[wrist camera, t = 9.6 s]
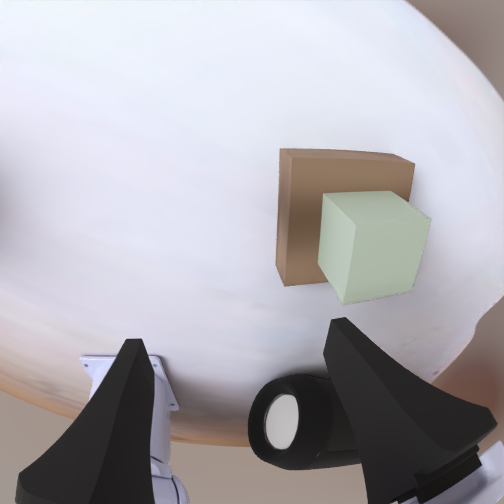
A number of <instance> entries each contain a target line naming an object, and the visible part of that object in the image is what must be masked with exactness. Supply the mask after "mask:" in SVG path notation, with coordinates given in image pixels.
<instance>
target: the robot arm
mask: <svg viewBox="0 0 504 504" xmlns="http://www.w3.org/2000/svg"><path fill="white" fill-rule="evenodd" d="M323 355H324V358H325V362H326V366H327V369H328V372H329V375H330V378H331V380H332V382H333V385H334V387H335V389H336V391H337V394H338V396H339V398H340V400H341V403H342V405H343V407H344V409H345V412H346V414H347V416H348V419H349V421H350V424H351V427H352V430H353V433H354V437H355V440H356V444H357V447H358V451H359V455H360V459H361V464H362V468H363V473H364V478H365V484H366V491H367V498H368V504H391V503H393V502H395V501H398V504H495V503H497V502H498V501H499V499H500V498H502V497H503V496H504V446H503V444H502V443H501V441H498V442H497V443H496V444H494V445H493V446H492V447H491V448H489V449H488V450H487V451H486V452H484V453H483V454H482V455H480V456H479V457H478V455H477V452H478V451H479V447H478V445H477V444H478V443H479V442H480V441H481V440H482V439H483V438H485V437H486V436H487V435H488V434H489V433H490V432H491V431H493V429H495V427H496V426H497V424H498V423H497V422H496V420H495V418H494V417H493V415H492V413H491V412H490V410H489V409H488V408H486V407H483V406H479V405H476V404H473V403H470V402H467V401H465V400H462V399H460V398H457V397H454V396H452V395H450V394H448V393H446V392H444V391H442V390H440V389H438V388H436V387H434V386H432V385H431V384H429V383H427V382H425V381H424V380H422V379H421V378H419V377H418V376H416V375H415V374H413V373H411V372H410V371H409V370H407V369H406V368H404V367H403V366H402V365H400V364H399V363H398V362H396V361H395V360H394V359H393V358H391V357H390V356H389V355H388V354H386V353H385V352H384V351H383V350H382V349H380V348H379V347H378V346H377V345H376V344H375V343H374V342H372V341H371V340H370V339H369V338H368V337H367V336H366V335H365V334H363V333H362V332H361V331H360V330H359V329H358V328H357V327H356V326H355V325H354V324H353V323H351V322H350V321H349V320H348V319H347V318H346V317H343V318H337V319H331V323H330V327H329V331H328V336H327V340H326V344H325V348H324V352H323ZM80 362H81V364H82V366H83V367H84V369H85V370H86V372H87V373H88V375H89V376H90V378H91V379H92V381H93V383H92V387H91V392H90V396H89V401H88V403H87V405H86V406H85V407H84V409H83V410H82V412H81V413H80V414H79V416H78V417H77V418H76V419H75V421H74V422H73V423H72V425H71V426H70V427H69V428H68V429H67V430H66V431H65V433H64V434H63V435H62V436H61V437H60V438H59V439H58V440H57V441H56V442H55V443H54V444H53V445H52V446H51V447H50V448H49V449H48V450H47V451H46V452H45V453H44V454H43V455H42V456H41V457H39V458H38V459H37V460H36V461H35V462H33V463H32V464H31V465H30V466H28V467H27V468H26V469H24V470H23V471H22V472H20V473H19V476H18V482H17V490H16V497H15V502H16V503H17V504H190V502H189V496H188V493H187V490H186V488H185V486H184V485H183V484H182V482H181V480H180V479H179V478H178V477H177V476H175V475H172V467H171V466H170V465H167V464H168V461H169V459H170V411H178V410H179V405H178V403H177V400H176V398H175V396H174V393H173V391H172V389H171V386H170V384H169V381H168V379H167V376H166V374H165V371H164V369H163V366H162V364H161V361H160V359H159V358H158V357H157V356H148V354H147V351H146V349H145V346H144V343H143V340H142V339H126V340H125V342H124V344H123V345H122V347H121V349H120V351H119V353H118V354H117V356H116V357H104V356H82V357H81V358H80Z"/></svg>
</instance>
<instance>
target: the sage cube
mask: <svg viewBox="0 0 504 504" xmlns="http://www.w3.org/2000/svg"><path fill="white" fill-rule="evenodd" d="M430 223H431V218H429V217H428V216H427V215H425V214H424V213H422V212H421V211H420V210H418V209H417V208H415V207H414V206H412V205H411V204H410V203H408V202H407V201H405V200H404V199H402V198H401V197H399V196H398V195H396V194H395V193H393V192H392V191H364V192H339V193H323V203H322V218H321V231H320V243H319V254H318V265H319V266H320V268H321V270H322V271H323V273H324V275H325V276H326V278H327V280H328V281H329V283H330V285H331V286H332V288H333V290H334V291H335V293H336V295H337V297H338V298H339V300H340V302H341V303H342V305H347V304H352V303H357V302H362V301H367V300H372V299H377V298H382V297H387V296H391V295H396V294H401V293H405V292H409V291H411V290H412V287H413V284H414V281H415V278H416V275H417V272H418V268H419V265H420V261H421V258H422V254H423V251H424V247H425V243H426V239H427V235H428V231H429V227H430Z"/></svg>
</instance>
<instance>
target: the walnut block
mask: <svg viewBox="0 0 504 504" xmlns="http://www.w3.org/2000/svg"><path fill="white" fill-rule="evenodd" d="M414 167H415V163H412V162H410V161H408V160H406V159H404V158H401V157H399V156H397V155H394V154H389V153H378V152H365V151H350V150H331V149H280V161H279V194H278V222H277V246H276V267H277V270H278V272H279V275H280V277H281V280H282V282H283V285H284V287H285V286H295V285H304V284H313V283H321V282H329V281H328V280H327V278H326V276H325V275H324V273H323V271H322V270H321V268H320V266H319V265H318V254H319V243H320V231H321V218H322V203H323V193H339V192H364V191H392V192H393V193H395V194H396V195H398V196H399V197H401V198H402V199H404V200H405V201H407V202H409V196H410V191H411V185H412V180H413V174H414Z"/></svg>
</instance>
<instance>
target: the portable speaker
mask: <svg viewBox="0 0 504 504" xmlns="http://www.w3.org/2000/svg"><path fill="white" fill-rule="evenodd" d="M248 437H249V442H250V445H251V448H252V450H253V451H254V453H255V454H256V455H257V456H258V457H259V458H260V459H261V460H263V461H265V462H267V463H270V464H272V465H275V466H277V467H280V468H282V469H286V470H310V469H320V468H331V467H339V466H347V465H353V464H360V463H361V459H360V455H359V451H358V447H357V444H356V440H355V437H354V433H353V430H352V427H351V424H350V421H349V419H348V416H347V414H346V412H345V409H344V407H343V405H342V403H341V400H340V398H339V396H338V394H337V391H336V389H335V387H334V385H333V382H332V380H326V379H321V378H316V377H311V376H308V375H302V374H300V375H294V376H289V377H285V378H280V379H276V380H273V381H271V382H269V383H267V384H266V385H265V386H264V387H263V388H262V389H261V390H260V391H259V393H258V394H257V396H256V398H255V400H254V402H253V404H252V407H251V410H250V414H249V419H248Z"/></svg>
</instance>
